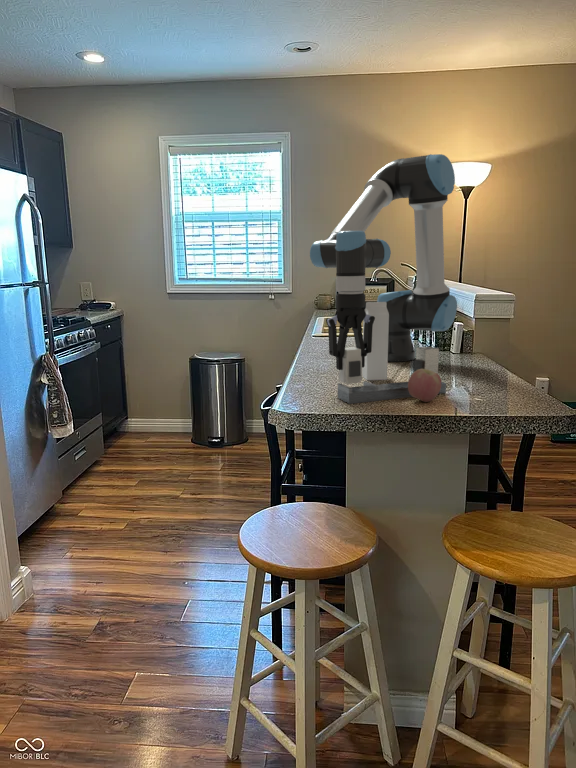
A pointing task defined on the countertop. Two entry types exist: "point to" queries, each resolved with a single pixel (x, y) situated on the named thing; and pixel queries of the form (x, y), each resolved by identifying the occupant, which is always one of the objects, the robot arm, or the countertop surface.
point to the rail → (372, 392)
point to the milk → (377, 342)
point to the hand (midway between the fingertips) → (350, 380)
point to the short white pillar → (353, 365)
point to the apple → (424, 384)
